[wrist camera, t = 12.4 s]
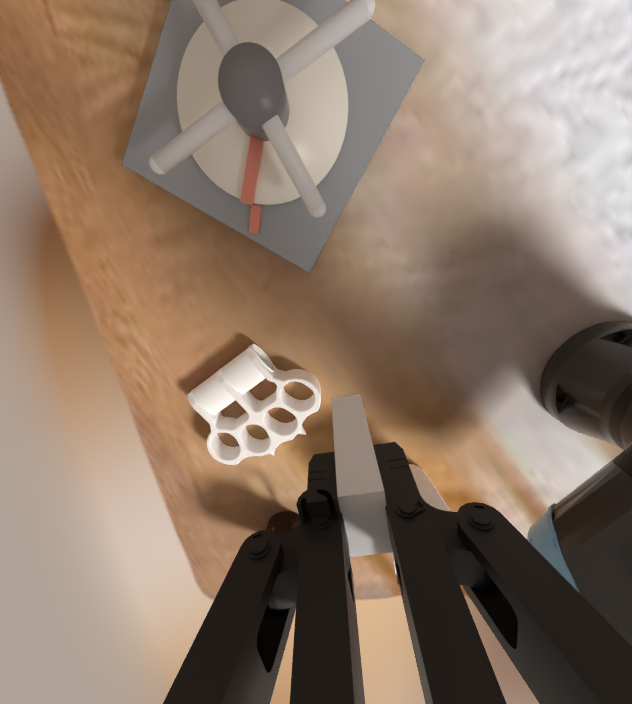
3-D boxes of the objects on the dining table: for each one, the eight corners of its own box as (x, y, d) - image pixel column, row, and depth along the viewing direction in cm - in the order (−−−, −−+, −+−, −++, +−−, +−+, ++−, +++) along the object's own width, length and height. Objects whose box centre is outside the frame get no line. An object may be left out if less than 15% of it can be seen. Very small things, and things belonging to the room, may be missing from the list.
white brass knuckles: (273, 326, 41) (340, 405, 44) (176, 400, 45) (245, 468, 48) (269, 333, 37) (342, 418, 41) (165, 413, 41) (240, 484, 45)
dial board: (418, 70, 31) (425, 57, 29) (309, 271, 38) (308, 273, 35) (211, -82, 28) (201, -111, 25) (132, 168, 34) (119, 163, 32)
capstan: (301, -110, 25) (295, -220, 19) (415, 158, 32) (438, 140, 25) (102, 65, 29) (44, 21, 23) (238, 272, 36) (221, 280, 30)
